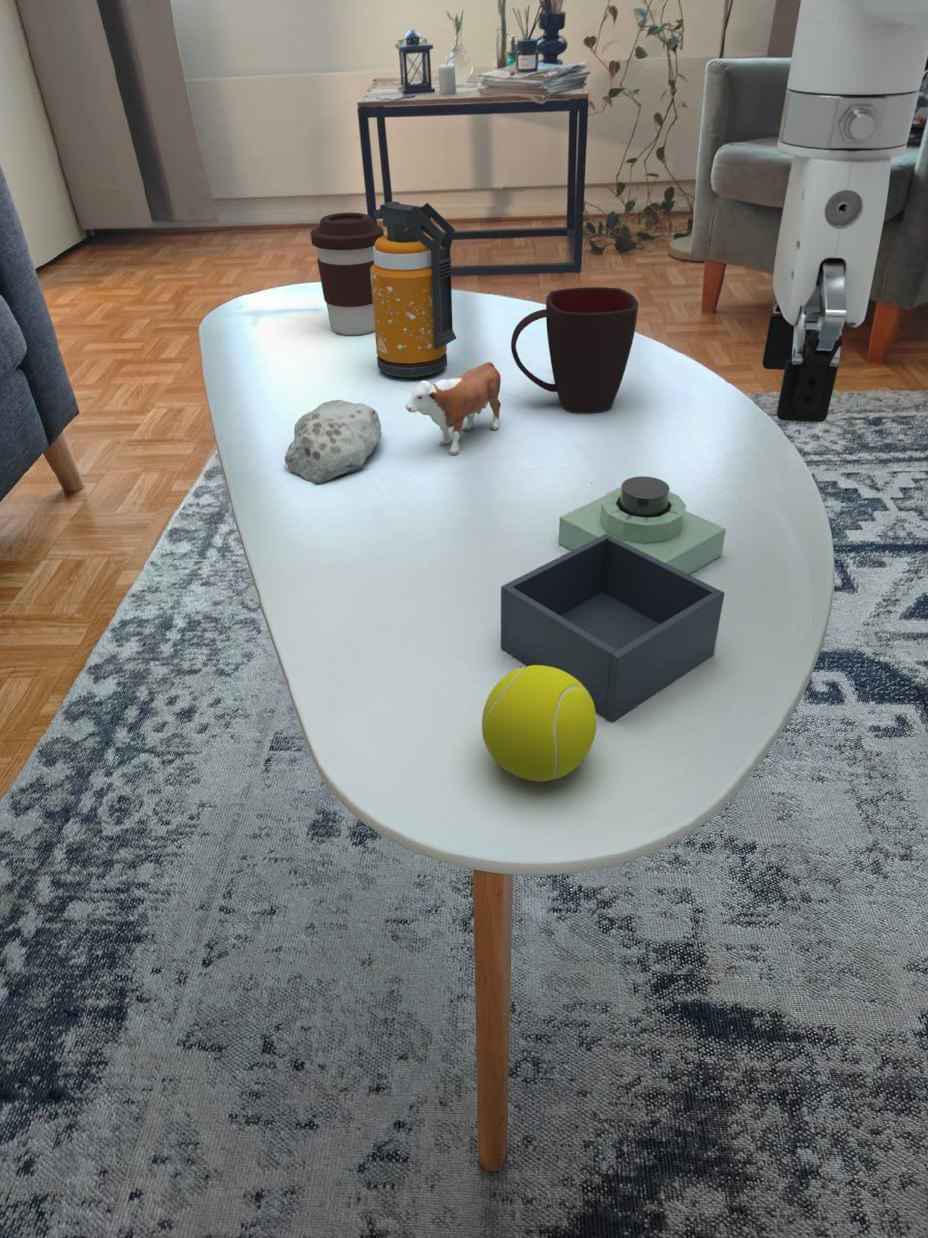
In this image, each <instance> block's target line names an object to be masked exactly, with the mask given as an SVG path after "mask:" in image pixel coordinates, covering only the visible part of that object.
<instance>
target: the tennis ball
mask: <svg viewBox="0 0 928 1238" xmlns="http://www.w3.org/2000/svg"><path fill="white" fill-rule="evenodd" d="M596 732H597V712H596V711H595V706H594V703H593V700H592V698H591V696H590V694H589V693H588V691H587V690H586V688H585V687H584V686H583V685H582V684H581V683H580V682H579V681H578V680H577V679H576V678H574V677H573V676H571V675H570V674H568V673H566V672H564V671H562V670H560V669H557V668H554V667H549V666H542V665H532V666H526V667H523V666H522V667H518V668H516V669H514V670H512V671H511V672H509V673H507V674H506V675H505V676H504V677H502V678H501V679H500V680H499V681H498V682H497V683H496V684H495V686H494V687H493V689H492V690H491V691H490V693H489V694H488V697H487V699H486V701H485V703H484V707H483V712H482V719H481V734H482V739H483V741H484V744H485V746H486V748H487V751H488V752H489V754H490V755H491V757H492V759H494V760H495V762H496V763H497V764H498V765H499V767H501V768H503V769H504V770H505V771H507V772H508V773H510V774H512V775H513V776H515V777H518V778H521V779H523V780H526V781H532V782H537V783H538V782H539V783H544V782H548V781H554V780H557V779H561V778H563V777H565V776H566V775H568V774H570V773H571V772H573V771H574V770H575V769H576V768H577V767H578V766H580V765H581V763H582V762H583V761H584V760H585V758H586V757H587V755H588V754H589V752H590V750H591V749H592V747H593V743H594V741H595V736H596Z"/></svg>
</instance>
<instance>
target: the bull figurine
mask: <svg viewBox="0 0 928 1238" xmlns="http://www.w3.org/2000/svg"><path fill="white" fill-rule="evenodd" d="M501 380H502V379H501V373H500V372H499V370H498V369H497V368H496V367H495V365H494V364H493V363H492V362H490V361H486V362H484V363H482V364H481V365H479V366H476V367H474V368H470V369H468V370H466V371H465V372H464V373H462V374H461V375H459V376H456V377H454V378H453V377H452V378H448V379H440V380H437V381H436V382H435V383H433V384H431V383H430V381H428V380H421V381H420V382H419V383H418V384H417V385H416V386H414V388H413V390H412V394H411V396H410V398H409V401H408V402H406V404H405V409H406V410H407V412H409V413H417V412H418V413H420V414H421V415H424V416H429V417H430V419H431V420H432V422H433V423H435V425H436V426H439V428H440V431H442V433H443V434H442V438H441V440H440V442H439V445H440V446H448V445H449V443H450V441H451V440H452V442H451V445H450V449H449V450H448V454H449V455H451V456H457V455H458V454H459V451H460V449H461V447H460V445H459V439H460V437H461V435H462V434H461V433H462V431H464V432H468V431H471V429H472V426H474V424H475V423H474V422H475V421H474V418H475V415H476V414H477V415H480V414H481V412H482V410H483V409H486V408H487V406H488V404H489V406H490V408H491V410H492V413H493V414H492V415H493V418H492V422H491V424H490V430H492V431H497V430H499V428H500V424H501V420H500V411H501V410H500V409H501V406H502V403H501V402H500V400H499V394H500V390H501V383H502V381H501ZM465 418H466V421H465V422H464V420H465ZM451 428H453V429H452V433H451V435H450V432H449V429H451ZM451 436H452V437H451Z"/></svg>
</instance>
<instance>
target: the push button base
mask: <svg viewBox="0 0 928 1238" xmlns="http://www.w3.org/2000/svg"><path fill="white" fill-rule="evenodd" d="M620 496H621V487H617V488H615V489H613V490H611V491H609V492H608V493H606V494H605V495H604V496H602V497H599V498H597V499H595V500H593V501H591V502H589V503H587V504H585V505H583V506H580V507H578V508H576V509H574V510H572V511H570V512H568V513H565V514H563V515H561V516H560V517H559V522H558V544H559V545H561V546H563V547H564V548H567V549H569V550H570V551H573V550H575V549H577V548H579V547H581V546H583V545H585V544H587V543H589V542H591V541H593V540H595V539H597V538H599V537H601V536H603V535H605V534H608V535H610V536H612V537H614V538H616V539H618V540H620V541H622V542H624V543H626V544H628V545H630V546H632V547H634V548H636V549H638V550H640V551H642V552H644V553H646V554H648V555H650V556H652V557H654V558H656V559H658V560H660V561H662V562H664V563H666V564H668V565H670V566H672V567H674V568H676V569H678V570H680V571H682V572H684V573H686V574H688V575H691V574H692V573H693V572H695V571H698V569H701V568H702V567H705V566H706V565H708V564H709V563H711V562H713V561H714V560H717V558H719V557H721V556H722V555H723V549H724V545H725V537H726V532H727V529H726V528H725V527H723V526H721V525H719V524H716V523H714V522H712V521H710V520H708V519H705V518H703V517H701V516H699V515H696V514H694V513H692V512H690V511H688V510H687V505H686V503H685V502H684V501H683V499H682V497H680V496H679V495H678V494H677V493H674V492H672V491H669V499H668V507H667V512H666V513H665V514H663V515H661V516H659V517H651V518H644V517H637V516H631V515H629V514H627V513H624V512H622V511H621V510H620Z"/></svg>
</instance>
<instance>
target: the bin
mask: <svg viewBox="0 0 928 1238" xmlns="http://www.w3.org/2000/svg"><path fill="white" fill-rule="evenodd" d="M724 598H725V592H724V591H722V590H721V589H718V588H716V587H714V586H713V585H711V584H708V583H707V582H704V581H702V580H701V579H698V578H696V577H694V576H692V575H691V574H686V573H684V572H682V571H680V570H678V569H676V568H674V567H672V566H670V565H668V564H666V563H664V562H662V561H660V560H658V559H656V558H654V557H652V556H650V555H648V554H646V553H644V552H642V551H640V550H638V549H636V548H634V547H632V546H630V545H628V544H626V543H624V542H622V541H620V540H618V539H616V538H614V537H612V536H610V535H608V534H605V535H603V536H601V537H599V538H597V539H595V540H593V541H591V542H589V543H587V544H585V545H583V546H581V547H579V548H577V549H575V550H573V551H572V550H570V551H569V552H567V553H565V554H563V555H561V556H559V557H557V558H555V559H553V560H551V561H549V562H547V563H545V564H542V565H541V566H539V567H537V568H535V569H533V570H531V571H529V572H527V573H525V574H523V575H521V576H520V577H517V578H515V579H513V580H512V581H511V580H510V581H509V582H507V583H505V584H504V585H501V586H500V649H501V650H503V651H504V652H506V653H508V654H509V655H510V656H512V657H513V658H515V659H516V660H518V661H519V662H521V663H522V664H523V665H525V666H526V667H528V666H532V665H542V666H549V667H554V668H557V669H560V670H562V671H564V672H566V673H568V674H570V675H571V676H573V677H574V678H576V679H577V680H578V681H579V682H580V683H581V684H582V685H583V686H584V687H585V688H586V690H587V691H588V693H589V694H590V696H591V698H592V700H593V703H594V706H595V711H596V714H598V715H599V716H600V717H602V718H604V719H606V720H607V721H609V722H610V723H613V722H615V721H617V720H618V719H620V718H621V717H623V716H624V715H626V714H628V713H629V712H630V711H631V710H634V709H635V708H636V707H638V706H639V705H641V704H642V703H644V702H646V701H647V700H649V699H650V698H651V697H653V696H654V695H656V694H657V693H658V692H660V691H662V690H663V689H665V688H666V687H668V686H670V685H671V684H672V683H674V682H676V681H677V680H678V679H680V678H681V677H683V676H684V675H686V674H688V672H691V671H692V670H693V669H695V668H696V667H698V666H699V665H701V664H703V663H704V662H706V661H707V660H708V659H709V658H711V657H713V656H714V655H715V649H716V643H717V638H718V633H719V626H720V621H721V617H722V616H721V615H722V610H723V604H724Z"/></svg>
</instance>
